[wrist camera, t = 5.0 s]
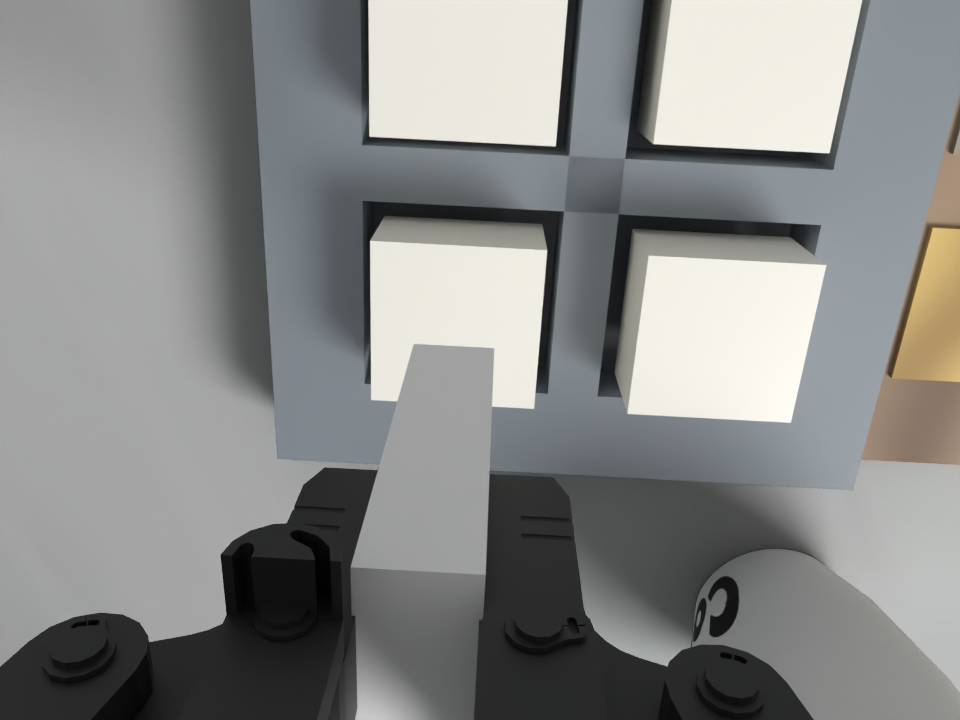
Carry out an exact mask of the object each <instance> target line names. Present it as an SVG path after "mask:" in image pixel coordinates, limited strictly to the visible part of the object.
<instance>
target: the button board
mask: <svg viewBox="0 0 960 720" xmlns="http://www.w3.org/2000/svg"><path fill="white" fill-rule="evenodd" d="M651 6H652V0H568V5H567V17H566V29H565V42H564V54H563V66H562V78H561V90H560V102H559V114H558V126H557V138H556V146H537V145H518V144H499V143H480V142H460V141H441V140H422V139H403V138H384V137H369V9H368V0H250V10H251V27H252V44H253V60H254V77H255V94H256V110H257V127H258V144H259V160H260V177H261V194H262V210H263V227H264V243H265V260H266V277H267V293H268V310H269V327H270V343H271V360H272V377H273V393H274V410H275V427H276V443H277V459H291V460H309V461H327V462H345V463H364V464H380V461H381V458H382V454H383V451H384V447H385V444H386V440H387V437H388V433H389V429H390V426H391V422H392V419H393V415H394V412H395V408H396V405H397V401H379V400H371V302H370V240H371V238H372V237H373V235H374V233H375V232H376V230H377V228H378V227H379V225H380V223H381V221H382V220H383V218H384V216H399V217H418V218H437V219H456V220H475V221H494V222H513V223H532V224H542V225H543V231H544V236H545V241H546V246H547V259H546V271H545V283H544V295H543V307H542V320H541V332H540V344H539V356H538V368H537V380H536V392H535V404H534V409H527V408H508V407H492V421H491V447H490V470H492V471H510V472H529V473H547V474H565V475H584V476H602V477H620V478H638V479H657V480H675V481H693V482H712V483H730V484H748V485H767V486H785V487H803V488H822V489H840V490H853V487H854V484H855V480H856V476H857V472H858V469H859V465H860V461H861V458H862V454H863V450H864V447H865V443H866V439H867V435H868V432H869V428H870V424H871V421H872V417H873V413H874V410H875V406H876V402H877V398H878V395H879V391H880V387H881V384H882V380H883V376H884V372H885V369H886V365H887V361H888V358H889V354H890V350H891V347H892V343H893V339H894V335H895V332H896V328H897V324H898V321H899V317H900V313H901V310H902V306H903V302H904V298H905V295H906V291H907V287H908V284H909V280H910V276H911V272H912V269H913V265H914V261H915V258H916V254H917V250H918V247H919V243H920V239H921V235H922V232H923V228H924V224H925V221H926V217H927V213H928V210H929V206H930V202H931V198H932V195H933V191H934V187H935V184H936V180H937V176H938V172H939V169H940V165H941V161H942V158H943V154H944V150H945V147H946V143H947V139H948V135H949V132H950V128H951V124H952V121H953V117H954V113H955V110H956V106H957V102H958V98H959V95H960V0H862V4H861V9H860V14H859V18H858V23H857V28H856V32H855V37H854V41H853V46H852V51H851V55H850V60H849V65H848V69H847V74H846V79H845V83H844V88H843V93H842V97H841V102H840V107H839V111H838V116H837V121H836V125H835V130H834V135H833V139H832V144H831V148H830V153H813V152H794V151H775V150H755V149H736V148H717V147H698V146H679V145H660V144H652V143H651V142H650V141H649V140H648V139H647V138H645V137H644V136H643V135H642V134H641V133H640V132H638V131H637V122H638V114H639V106H640V97H641V89H642V81H643V72H644V64H645V56H646V47H647V39H648V31H649V23H650V14H651ZM632 229H645V230H664V231H683V232H702V233H720V234H739V235H758V236H777V237H791V238H792V239H793V240H795V241H796V242H797V243H798V244H800V245H801V246H802V247H804V248H805V249H806V250H808V251H809V252H810V253H811V254H813V255H814V256H815V257H817V258H818V259H819V260H821V261H822V262H823V263H824V264H826V269H825V274H824V278H823V283H822V287H821V292H820V296H819V300H818V305H817V309H816V314H815V318H814V323H813V327H812V331H811V336H810V340H809V345H808V349H807V354H806V358H805V362H804V367H803V371H802V376H801V380H800V385H799V389H798V393H797V398H796V402H795V407H794V411H793V416H792V420H791V423H785V422H767V421H748V420H730V419H711V418H693V417H674V416H656V415H638V414H627V411H626V408H625V405H624V402H623V398H622V395H621V392H620V389H619V386H618V382H617V379H616V376H615V373H614V372H615V364H616V356H617V348H618V340H619V332H620V324H621V316H622V308H623V300H624V292H625V284H626V276H627V268H628V260H629V252H630V244H631V236H632Z"/></svg>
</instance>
